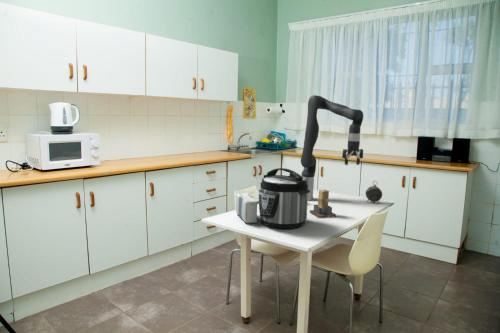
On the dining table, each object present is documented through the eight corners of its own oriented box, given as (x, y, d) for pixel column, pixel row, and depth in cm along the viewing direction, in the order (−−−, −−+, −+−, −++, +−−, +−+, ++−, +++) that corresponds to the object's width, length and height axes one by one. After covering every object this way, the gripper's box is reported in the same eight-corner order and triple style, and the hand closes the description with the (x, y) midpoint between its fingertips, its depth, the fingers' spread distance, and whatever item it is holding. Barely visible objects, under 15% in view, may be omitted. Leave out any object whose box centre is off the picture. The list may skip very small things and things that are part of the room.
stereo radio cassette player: (235, 214, 220) (235, 182, 217) (247, 213, 223) (248, 182, 219) (244, 224, 200) (245, 189, 197) (258, 223, 203) (259, 189, 200)
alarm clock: (380, 202, 260) (382, 180, 258) (382, 204, 255) (384, 182, 253) (364, 201, 262) (366, 179, 259) (366, 203, 256) (368, 181, 254)
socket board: (318, 218, 217) (318, 209, 216) (309, 212, 228) (309, 204, 227) (335, 216, 220) (336, 208, 220) (326, 211, 232) (326, 203, 231)
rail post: (321, 213, 221) (322, 191, 219) (317, 211, 226) (318, 189, 223) (327, 213, 223) (328, 191, 221) (323, 211, 227) (325, 189, 225)
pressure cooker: (253, 215, 218) (254, 164, 213) (297, 214, 223) (300, 164, 218) (262, 232, 189) (265, 173, 184) (313, 230, 193) (317, 173, 189)
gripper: (359, 139, 238) (358, 163, 241) (341, 139, 234) (339, 164, 237) (366, 140, 231) (364, 165, 234) (347, 140, 227) (345, 165, 230)
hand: (352, 164), depth 235 cm, fingers open, 8 cm apart
